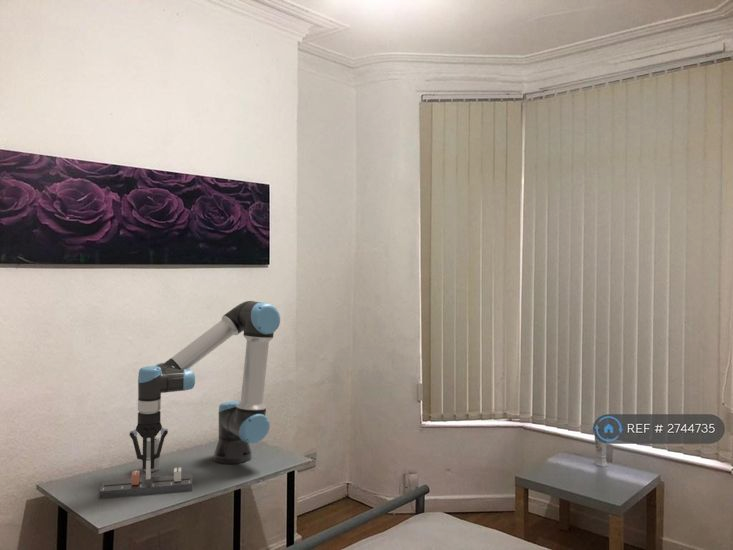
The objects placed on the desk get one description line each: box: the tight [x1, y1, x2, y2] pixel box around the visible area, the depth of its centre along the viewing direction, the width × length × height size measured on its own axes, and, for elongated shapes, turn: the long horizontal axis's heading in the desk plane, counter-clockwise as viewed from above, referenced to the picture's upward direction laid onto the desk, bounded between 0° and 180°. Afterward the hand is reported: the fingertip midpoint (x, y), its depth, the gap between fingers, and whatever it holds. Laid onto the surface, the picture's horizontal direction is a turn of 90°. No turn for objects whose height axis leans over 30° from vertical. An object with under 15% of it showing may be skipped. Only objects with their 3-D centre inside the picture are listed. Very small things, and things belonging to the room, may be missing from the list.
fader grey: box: [173, 466, 182, 482], centre depth 214 cm, size 2×4×4 cm, turn 16°
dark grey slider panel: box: [98, 473, 193, 500], centre depth 211 cm, size 30×10×3 cm, turn 106°
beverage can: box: [143, 436, 161, 473], centre depth 231 cm, size 6×6×12 cm
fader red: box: [130, 470, 141, 485], centre depth 210 cm, size 2×4×4 cm, turn 16°
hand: (148, 477), depth 211 cm, fingers closed
